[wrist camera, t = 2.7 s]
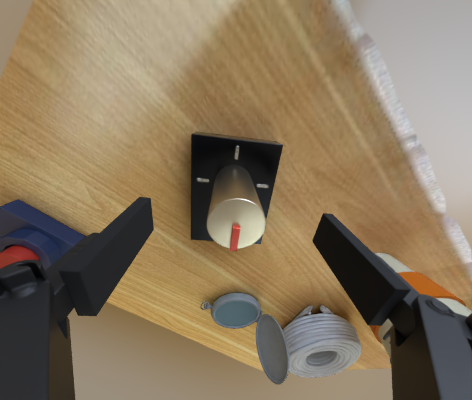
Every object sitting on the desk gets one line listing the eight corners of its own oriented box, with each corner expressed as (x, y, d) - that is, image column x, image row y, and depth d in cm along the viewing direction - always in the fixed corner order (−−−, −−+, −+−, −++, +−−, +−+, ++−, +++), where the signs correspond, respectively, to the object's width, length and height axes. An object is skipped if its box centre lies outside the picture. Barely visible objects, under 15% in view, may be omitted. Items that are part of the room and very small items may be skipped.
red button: (5, 255, 24) (-11, 265, 22) (14, 240, 23) (-2, 249, 21) (34, 268, 25) (21, 279, 23) (44, 254, 24) (31, 264, 22)
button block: (-1, 233, 26) (-37, 252, 23) (18, 199, 24) (-20, 213, 20) (74, 269, 30) (53, 290, 26) (96, 242, 28) (76, 261, 24)
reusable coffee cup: (342, 249, 30) (433, 356, 17) (415, 240, 30) (565, 342, 17) (332, 296, 36) (396, 405, 22) (394, 289, 36) (495, 395, 22)
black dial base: (196, 131, 21) (191, 133, 18) (276, 141, 22) (283, 145, 19) (194, 227, 27) (190, 240, 24) (257, 231, 28) (260, 245, 25)
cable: (312, 297, 36) (327, 330, 30) (366, 322, 41) (387, 354, 35) (261, 339, 42) (266, 372, 36) (313, 356, 47) (324, 388, 41)
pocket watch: (272, 395, 30) (183, 388, 27) (261, 325, 39) (195, 315, 37) (300, 367, 26) (199, 355, 23) (280, 297, 35) (208, 283, 33)
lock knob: (216, 162, 20) (207, 197, 11) (254, 166, 20) (272, 203, 12) (213, 197, 22) (204, 249, 13) (248, 201, 22) (261, 253, 14)
